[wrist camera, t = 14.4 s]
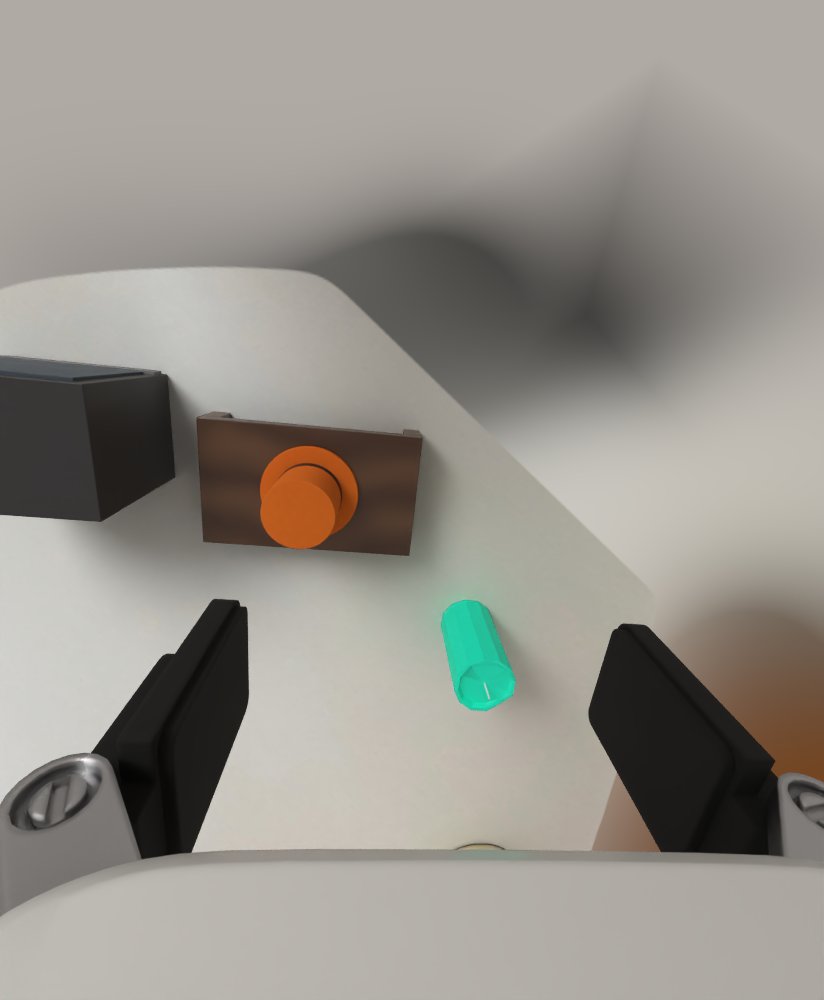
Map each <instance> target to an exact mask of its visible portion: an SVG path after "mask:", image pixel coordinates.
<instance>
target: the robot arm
mask: <svg viewBox="0 0 824 1000" xmlns="http://www.w3.org/2000/svg"><path fill="white" fill-rule="evenodd" d="M248 698H249V676H248V613H247V608H246V607H240V603H239V601H238V600H224V599H213V600H212V601H211V603H210V604H209V605H208V607H207V608H206V610H205V611H204V613H203V614H202V616H201V617H200V618H199V620H198V621H197V623H196V624H195V626H194V627H193V629H192V630H191V631H190V633H189V634H188V636H187V637H186V639H185V640H184V642H183V643H182V644H181V646H180V647H179V649H178V650H177V652H176V653H175V654H165V655H163V656H162V657H161V658H160V659H159V661H158V662H157V663H156V665H155V666H154V667H153V669H152V670H151V671H150V673H149V674H148V676H147V677H146V678H145V680H144V681H143V682H142V684H141V685H140V687H139V688H138V689H137V691H136V692H135V693H134V695H133V696H132V698H131V699H130V700H129V702H128V703H127V704H126V706H125V707H124V709H123V710H122V711H121V713H120V714H119V715H118V717H117V718H116V719H115V721H114V722H113V724H112V725H111V726H110V728H109V729H108V730H107V732H106V733H105V735H104V736H103V737H102V739H101V740H100V741H99V743H98V744H97V746H96V747H95V748H94V750H93V751H92V752H91V753H80V754H73V755H68V756H65V757H62V758H59V759H56V760H53V761H51V762H49V763H47V764H45V765H43V766H41V767H39V768H37V769H36V770H34V771H33V772H31V773H30V774H29V775H27V776H26V777H25V778H23V779H22V780H21V781H19V782H18V783H17V784H16V785H15V786H14V787H13V788H12V789H11V791H10V792H9V793H8V794H7V795H6V796H5V798H4V799H3V801H2V803H1V804H0V1000H824V783H823V782H821V781H819V780H816V779H814V778H812V777H809V776H807V775H802V774H798V773H785V774H783V775H781V776H780V777H779V778H777V776H776V775H775V774H774V773H773V772H772V771H771V768H772V766H773V764H774V762H775V760H774V759H773V758H772V757H771V756H770V755H769V754H768V753H767V751H766V750H765V749H764V748H763V747H762V746H761V745H760V744H759V743H758V742H757V741H756V740H755V739H754V738H753V737H752V736H751V735H750V734H749V732H747V730H746V729H745V728H744V727H743V726H742V725H741V724H740V723H739V722H738V721H737V720H736V719H735V718H734V717H733V716H732V715H731V714H730V712H728V710H727V709H726V708H725V707H724V706H723V705H722V704H721V703H720V702H719V701H718V700H717V699H716V698H715V697H714V696H713V695H712V694H711V693H710V691H709V690H708V689H707V688H706V687H705V686H704V685H703V684H702V683H701V682H700V681H699V680H698V679H697V678H696V677H695V676H694V675H693V674H692V673H691V672H690V671H689V670H688V668H687V667H686V666H685V665H684V664H683V663H682V662H681V661H680V660H679V659H678V658H677V657H676V656H675V655H674V654H673V653H672V652H671V651H670V649H669V648H668V647H667V646H666V645H665V644H664V643H663V642H662V641H661V640H660V639H659V638H658V637H657V636H656V635H655V634H654V633H653V632H652V630H651V629H650V628H649V627H647V626H646V625H639V624H621V625H620V626H619V627H618V629H614V631H613V632H612V634H611V638H610V641H609V644H608V647H607V651H606V654H605V657H604V661H603V664H602V667H601V670H600V674H599V677H598V680H597V683H596V687H595V690H594V693H593V697H592V700H591V703H590V706H589V714H588V715H589V720H590V723H591V726H592V727H593V729H594V731H595V733H596V735H597V737H598V738H599V740H600V742H601V744H602V746H603V747H604V749H605V751H606V753H607V755H608V756H609V758H610V760H611V762H612V764H613V766H614V767H615V769H616V771H617V773H618V774H619V776H620V778H621V780H622V782H623V784H624V786H625V787H626V789H627V791H628V793H629V795H630V796H631V798H632V800H633V802H634V804H635V806H636V807H637V809H638V811H639V813H640V815H641V816H642V818H643V820H644V822H645V824H646V826H647V827H648V829H649V831H650V833H651V835H652V836H653V838H654V840H655V842H656V844H657V846H658V847H659V849H660V851H661V852H616V851H615V852H613V851H539V850H406V849H294V850H231V851H212V852H197V853H191V852H192V850H193V847H194V845H195V842H196V839H197V837H198V834H199V832H200V829H201V826H202V824H203V821H204V819H205V816H206V813H207V811H208V808H209V806H210V803H211V800H212V798H213V795H214V793H215V790H216V787H217V785H218V782H219V780H220V777H221V774H222V772H223V769H224V767H225V764H226V761H227V759H228V756H229V754H230V751H231V748H232V746H233V743H234V741H235V738H236V736H237V733H238V730H239V728H240V725H241V723H242V720H243V717H244V715H245V712H246V709H247V705H248Z"/></svg>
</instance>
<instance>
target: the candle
mask: <svg viewBox="0 0 824 1000" xmlns="http://www.w3.org/2000/svg"><path fill="white" fill-rule="evenodd" d="M441 627H442V632H443V637H444V642H445V647H446V651H447V656H448V661H449V666H450V671H451V676H452V681H453V686H454V690H455V693H456V695H457V698H458V700H459V702H460V703H462V704H463V705H464V706H466V707H467V708H469V709H470V710H478V711H487V710H489V709H491V708H493V707H495V706H497V705H498V704H500V703H502V702H503V701H505V700H507V699H508V698H510V697H511V696H513V692H514V687H515V682H516V680H515V677H514V674H513V671H512V669H511V666H510V664H509V661H508V659H507V656H506V654H505V651H504V649H503V646H502V643H501V641H500V638H499V636H498V633H497V631H496V628H495V626H494V623H493V621H492V618H491V616H490V613H489V611H488V608H486V607H485V606H483V605H482V604H481V603H479V602H478V601H471V600H463V601H460V602H457V603H454V604H452V605H451V606H450V607H449V608H448V609H447V610H446V611H445V612H444V613H443V618H442V622H441Z"/></svg>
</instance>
